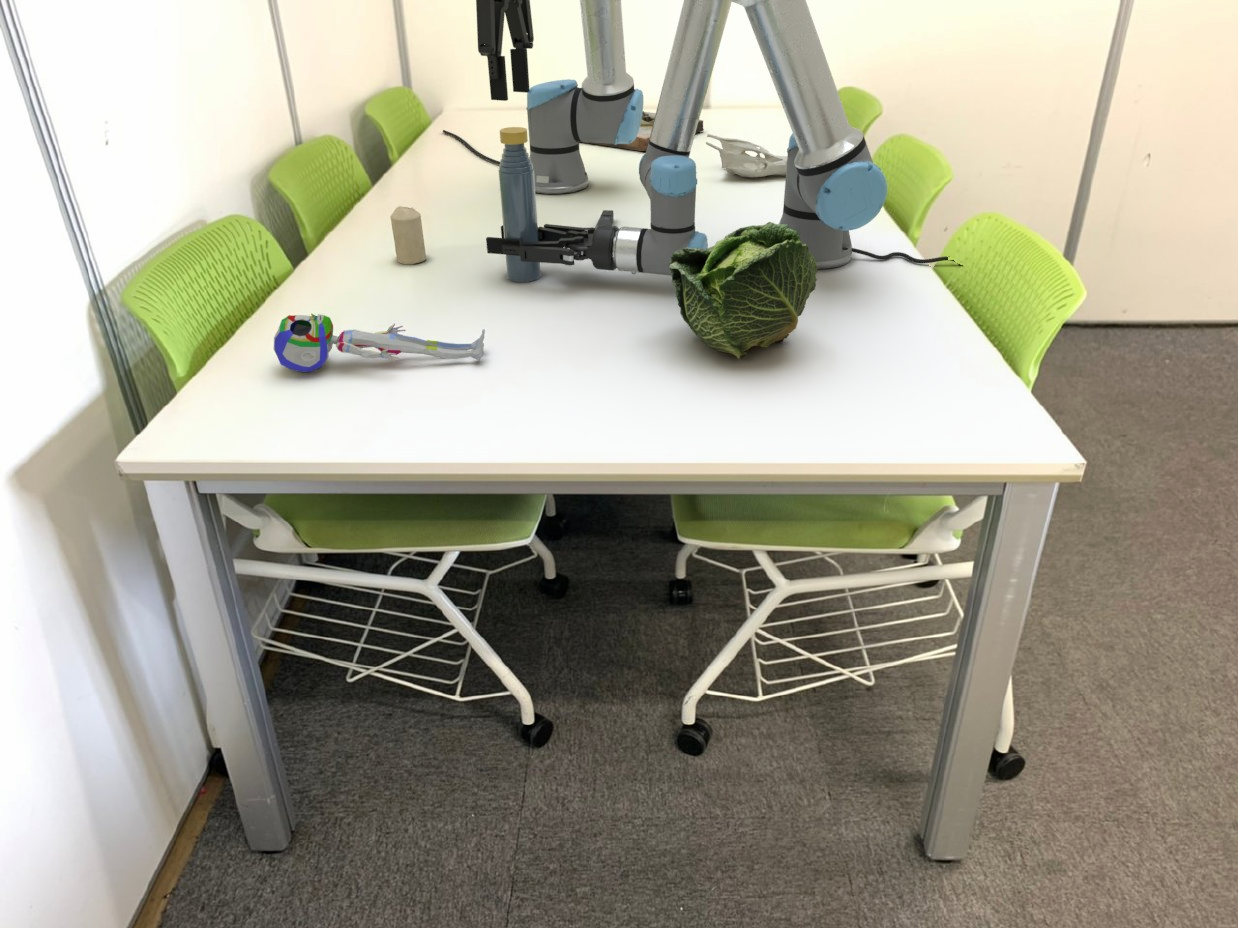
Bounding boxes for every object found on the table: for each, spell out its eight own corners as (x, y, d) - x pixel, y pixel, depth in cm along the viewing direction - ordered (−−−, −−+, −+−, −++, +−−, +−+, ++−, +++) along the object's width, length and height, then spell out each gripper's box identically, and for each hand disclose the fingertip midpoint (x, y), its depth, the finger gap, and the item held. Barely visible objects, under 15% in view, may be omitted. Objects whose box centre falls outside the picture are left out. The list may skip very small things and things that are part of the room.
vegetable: (704, 370, 145) (643, 264, 138) (800, 304, 147) (745, 195, 139) (754, 397, 127) (686, 277, 119) (863, 321, 128) (804, 197, 121)
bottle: (539, 269, 167) (529, 127, 153) (542, 281, 162) (533, 135, 148) (506, 271, 166) (494, 129, 153) (508, 283, 161) (496, 137, 148)
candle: (431, 256, 173) (424, 204, 168) (417, 265, 169) (409, 213, 164) (406, 253, 175) (399, 202, 170) (391, 262, 171) (383, 210, 165)
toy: (484, 341, 128) (264, 324, 124) (481, 394, 133) (269, 379, 128) (485, 314, 137) (280, 296, 132) (482, 364, 141) (284, 349, 136)
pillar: (613, 210, 190) (600, 241, 173) (613, 220, 191) (600, 251, 174) (603, 210, 190) (589, 240, 173) (603, 220, 191) (589, 251, 174)
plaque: (647, 125, 237) (559, 112, 252) (647, 153, 241) (560, 139, 256) (706, 107, 258) (622, 97, 273) (705, 133, 262) (622, 121, 277)
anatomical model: (708, 130, 224) (809, 129, 220) (707, 168, 229) (806, 167, 225) (703, 145, 212) (811, 144, 208) (703, 184, 216) (808, 183, 213)
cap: (526, 138, 153) (525, 126, 152) (528, 144, 150) (528, 132, 149) (499, 139, 153) (498, 127, 152) (501, 145, 149) (500, 133, 148)
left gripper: (508, -69, 144) (518, 84, 156) (442, -64, 129) (459, 105, 141) (550, -69, 142) (557, 87, 154) (487, -64, 126) (501, 108, 138)
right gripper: (602, 289, 150) (475, 277, 156) (632, 252, 166) (515, 242, 171) (601, 245, 146) (471, 235, 152) (632, 211, 162) (512, 203, 167)
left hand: (510, 95), depth 147 cm, fingers open, 7 cm apart
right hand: (495, 239), depth 162 cm, fingers closed on bottle, 6 cm apart
